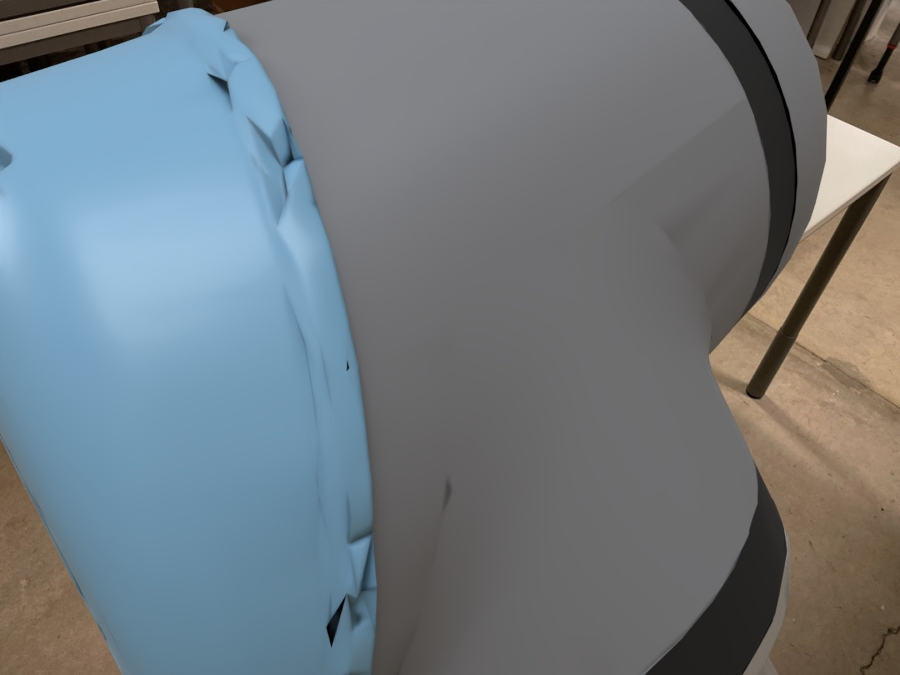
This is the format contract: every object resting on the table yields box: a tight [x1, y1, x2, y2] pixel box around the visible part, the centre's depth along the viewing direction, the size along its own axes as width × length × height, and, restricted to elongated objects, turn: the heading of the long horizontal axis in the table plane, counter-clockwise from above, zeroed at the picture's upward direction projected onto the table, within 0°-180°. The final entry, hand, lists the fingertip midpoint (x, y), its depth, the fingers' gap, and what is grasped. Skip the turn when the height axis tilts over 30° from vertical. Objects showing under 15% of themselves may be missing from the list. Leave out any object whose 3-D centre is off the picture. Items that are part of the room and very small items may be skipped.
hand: (456, 265), depth 64 cm, fingers closed
